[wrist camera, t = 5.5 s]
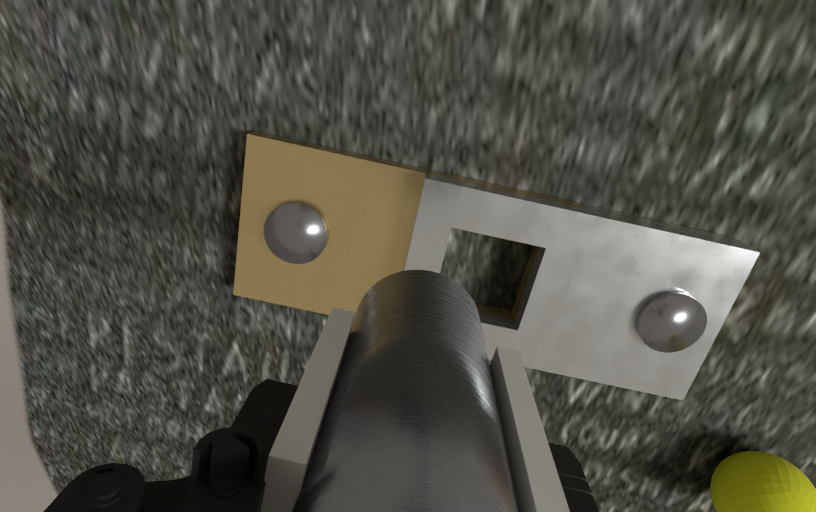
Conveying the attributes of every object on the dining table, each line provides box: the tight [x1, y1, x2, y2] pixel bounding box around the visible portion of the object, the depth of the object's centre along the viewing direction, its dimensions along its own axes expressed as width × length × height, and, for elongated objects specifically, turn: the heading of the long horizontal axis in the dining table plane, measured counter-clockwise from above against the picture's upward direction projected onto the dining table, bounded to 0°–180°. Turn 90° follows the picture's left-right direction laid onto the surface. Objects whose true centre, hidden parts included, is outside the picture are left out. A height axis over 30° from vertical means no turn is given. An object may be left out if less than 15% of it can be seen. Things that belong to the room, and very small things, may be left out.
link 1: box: [233, 131, 589, 320], centre depth 35 cm, size 12×23×2 cm, turn 78°
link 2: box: [404, 174, 760, 400], centre depth 34 cm, size 12×22×4 cm, turn 78°
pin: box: [292, 270, 518, 512], centre depth 13 cm, size 6×6×12 cm
